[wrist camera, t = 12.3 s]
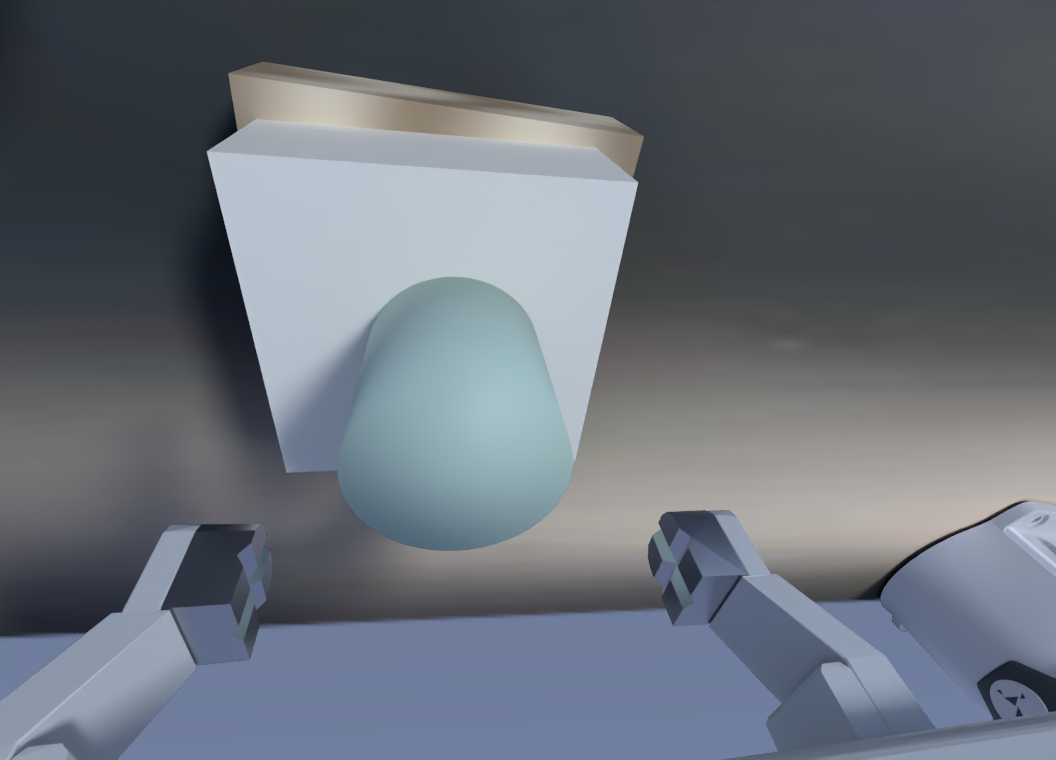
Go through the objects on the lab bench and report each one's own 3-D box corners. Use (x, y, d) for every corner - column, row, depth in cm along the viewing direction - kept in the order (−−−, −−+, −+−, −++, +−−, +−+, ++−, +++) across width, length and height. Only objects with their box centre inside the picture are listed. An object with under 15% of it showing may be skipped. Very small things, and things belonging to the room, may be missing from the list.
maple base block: (608, 115, 19) (644, 136, 16) (550, 370, 26) (567, 421, 23) (266, 60, 16) (228, 73, 13) (302, 361, 23) (283, 416, 20)
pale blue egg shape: (549, 282, 14) (592, 383, 10) (527, 422, 17) (554, 547, 13) (363, 270, 13) (326, 376, 9) (371, 420, 16) (346, 554, 12)
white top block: (596, 147, 16) (637, 182, 13) (553, 395, 22) (575, 461, 19) (256, 118, 14) (206, 151, 11) (308, 398, 20) (286, 472, 17)
